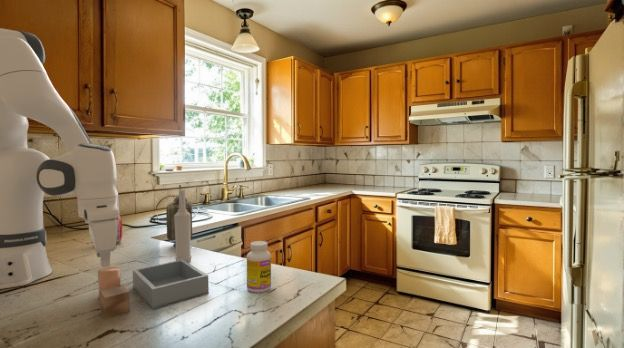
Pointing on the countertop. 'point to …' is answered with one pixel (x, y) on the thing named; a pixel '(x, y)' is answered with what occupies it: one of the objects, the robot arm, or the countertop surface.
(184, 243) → the bottle
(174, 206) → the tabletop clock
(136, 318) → the countertop surface
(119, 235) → the soda can
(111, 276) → the cylinder
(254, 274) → the supplement bottle
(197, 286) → the tote
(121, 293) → the cube
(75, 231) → the countertop surface
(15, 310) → the countertop surface
